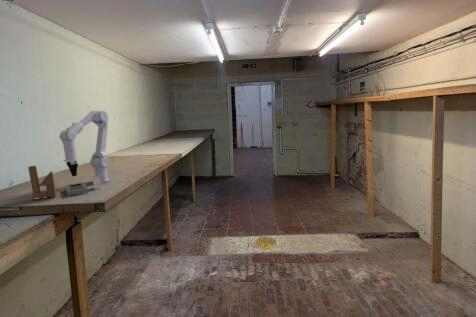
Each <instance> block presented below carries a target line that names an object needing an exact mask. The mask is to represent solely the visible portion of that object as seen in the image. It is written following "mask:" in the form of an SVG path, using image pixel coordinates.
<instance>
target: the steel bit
mask: <svg viewBox="0 0 476 317" xmlns="http://www.w3.org/2000/svg"><path fill="white" fill-rule="evenodd" d="M91 180H92V187H93V189H94V190H100V189H102V183H101V179H100V176H99V175H98V176H95V175H93V176H91Z"/></svg>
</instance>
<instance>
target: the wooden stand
mask: <svg viewBox="0 0 476 317" xmlns="http://www.w3.org/2000/svg"><path fill="white" fill-rule="evenodd" d="M27 169H28V173H29V174H28V175H29V178H30V179H29V180H30V184H31V189H32V190H31V191H32V193H31V196H32V200H33V199H34V198H44V197H53V198H56V197H57V192H56V191H57V190H56V185H55V181H54V174H53V170H51V171H50V172H49V173H47V174H48V175H46V177H44V179H43V180H42V181H41V182H40V180H39V176H38V175H39V174H38V170H37V166H36V165H30V166H28V167H27ZM41 187H45V189H46V190H41Z"/></svg>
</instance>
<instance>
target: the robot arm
mask: <svg viewBox="0 0 476 317" xmlns="http://www.w3.org/2000/svg"><path fill="white" fill-rule="evenodd" d="M108 120H109V114H108V113H107V112H106V111H105V110H90V112H88V113H87V114H86V115H85V117H83V118H82V119H81V120H80V121H78V122H77V121H76V122H72V124H71V125H70V126H69V127H67V128H66V129H63V130H61V132H60V133H59V136H58V137H59V139H60V140H61V143H62V145H63V151H64V156H65V157H64V158H65V159H63V162H65V163H66V166H67V168H68V170H69V172H70V175H71V177H77V175H78V167H79V163H77V161H78V158H77V157H78V156H77V152H76V145H75V140H76V138H77V135H79V134H80V133H81V132H83V130H84V128H85V126H87V125H88V124H90V123H91V122H92V123H94V124H95V125H96V126H97V134H96V136H97V137H96V144H95V145H96V146H95V152H93V154H92V155H91V159H90V162H89V163H90V166H92V168H93V170H94V176H98V175H99V176H100V179H101V184H102V183H106V182H110V181H111V180H110V179H109V176H108V169H107V167H108V166H109V155H108V154H107V153H106V146H107V138H108V131H109V130H108V129H109V122H108Z"/></svg>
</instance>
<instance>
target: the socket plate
mask: <svg viewBox="0 0 476 317" xmlns="http://www.w3.org/2000/svg"><path fill="white" fill-rule="evenodd" d="M65 191H66V194H67V197H68V196H71V197H74V196H73V195H76V196H80V195H79V194H81V195H84V194H83V193H87V194H89V190H88V187H87V185H86V183H85V182H84V181H83V182H75V183H73V184H65Z"/></svg>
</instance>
